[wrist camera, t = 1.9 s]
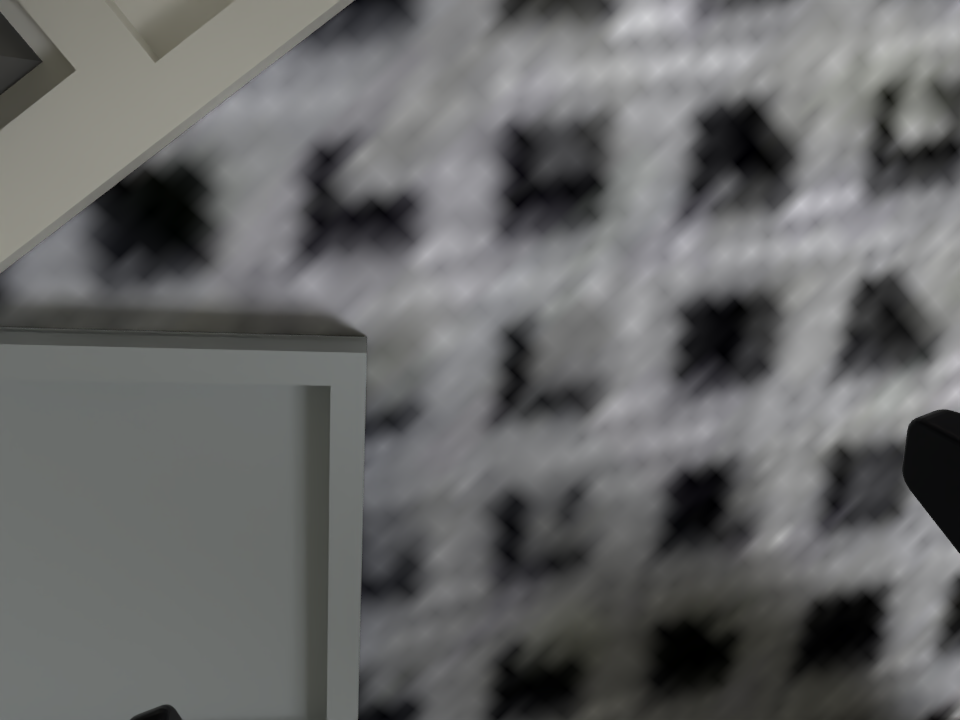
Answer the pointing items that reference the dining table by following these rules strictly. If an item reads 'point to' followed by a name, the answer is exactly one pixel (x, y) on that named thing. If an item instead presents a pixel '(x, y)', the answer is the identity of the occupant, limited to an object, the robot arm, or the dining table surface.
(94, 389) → the tray
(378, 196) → the dining table surface
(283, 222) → the dining table surface
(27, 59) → the black plug
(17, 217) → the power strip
